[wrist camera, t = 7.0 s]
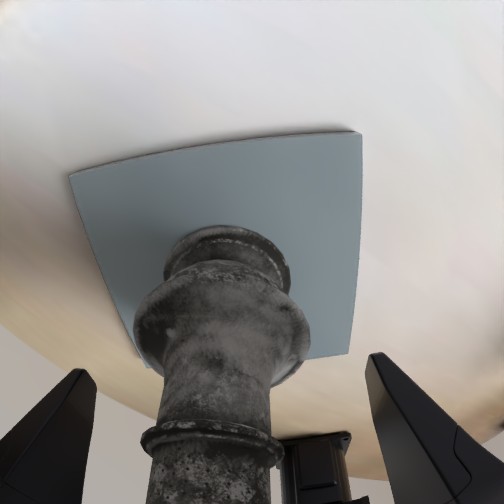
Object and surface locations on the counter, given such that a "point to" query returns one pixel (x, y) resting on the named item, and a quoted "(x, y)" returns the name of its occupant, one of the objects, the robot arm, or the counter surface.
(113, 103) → the counter surface
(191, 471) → the grey stone finial
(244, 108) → the counter surface
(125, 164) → the coaster
